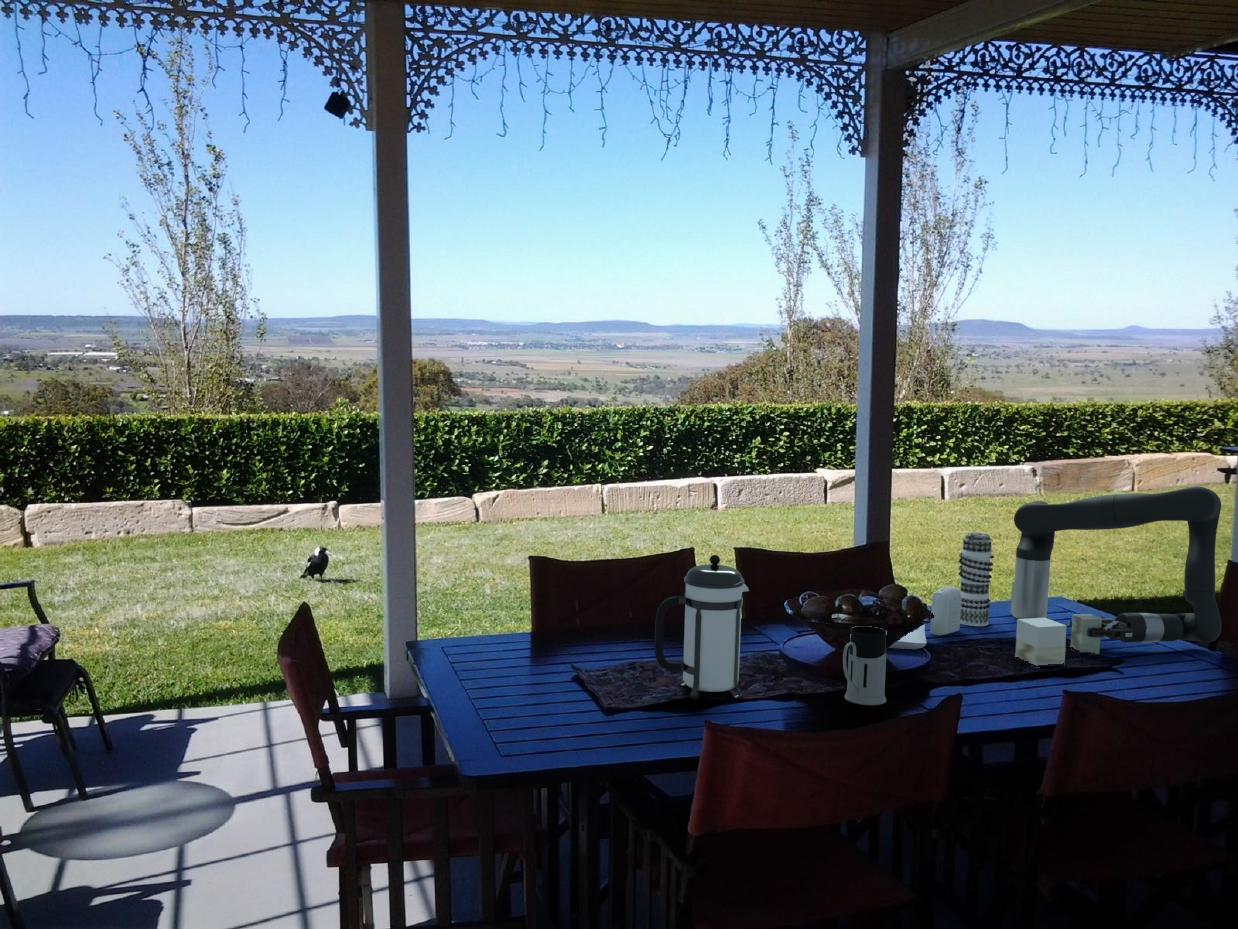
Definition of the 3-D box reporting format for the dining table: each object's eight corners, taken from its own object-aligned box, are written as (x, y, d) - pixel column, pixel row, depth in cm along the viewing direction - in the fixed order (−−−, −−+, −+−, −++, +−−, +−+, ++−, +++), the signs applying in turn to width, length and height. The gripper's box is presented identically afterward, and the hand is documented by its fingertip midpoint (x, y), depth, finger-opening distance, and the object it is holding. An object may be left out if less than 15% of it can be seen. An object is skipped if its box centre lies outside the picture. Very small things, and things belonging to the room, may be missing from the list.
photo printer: (947, 627, 299) (950, 583, 298) (961, 631, 296) (964, 585, 295) (927, 633, 292) (930, 588, 291) (942, 637, 289) (944, 591, 288)
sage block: (1070, 648, 281) (1072, 614, 280) (1088, 648, 281) (1091, 614, 280) (1080, 654, 276) (1083, 619, 275) (1099, 654, 276) (1101, 619, 275)
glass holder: (893, 698, 236) (897, 630, 235) (860, 714, 226) (863, 642, 224) (857, 689, 242) (860, 623, 240) (823, 704, 231) (826, 634, 230)
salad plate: (839, 648, 277) (839, 635, 276) (842, 628, 297) (843, 616, 297) (926, 656, 272) (927, 642, 271) (923, 635, 292) (924, 622, 292)
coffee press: (698, 675, 249) (702, 545, 246) (758, 691, 239) (763, 555, 236) (651, 693, 236) (655, 555, 233) (712, 709, 226) (717, 566, 223)
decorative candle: (967, 616, 312) (972, 530, 310) (996, 623, 305) (1002, 534, 303) (948, 621, 306) (953, 532, 304) (978, 628, 299) (983, 537, 297)
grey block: (1016, 639, 270) (1017, 619, 269) (1043, 637, 272) (1044, 617, 272) (1037, 647, 262) (1038, 627, 262) (1065, 646, 265) (1066, 625, 264)
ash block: (1015, 659, 270) (1016, 639, 270) (1042, 657, 273) (1043, 637, 272) (1036, 668, 263) (1037, 647, 262) (1064, 666, 265) (1065, 645, 265)
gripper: (1124, 606, 286) (1065, 606, 284) (1157, 620, 272) (1095, 620, 270) (1122, 635, 287) (1063, 635, 285) (1154, 649, 273) (1093, 650, 271)
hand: (1079, 628), depth 278 cm, fingers open, 8 cm apart
